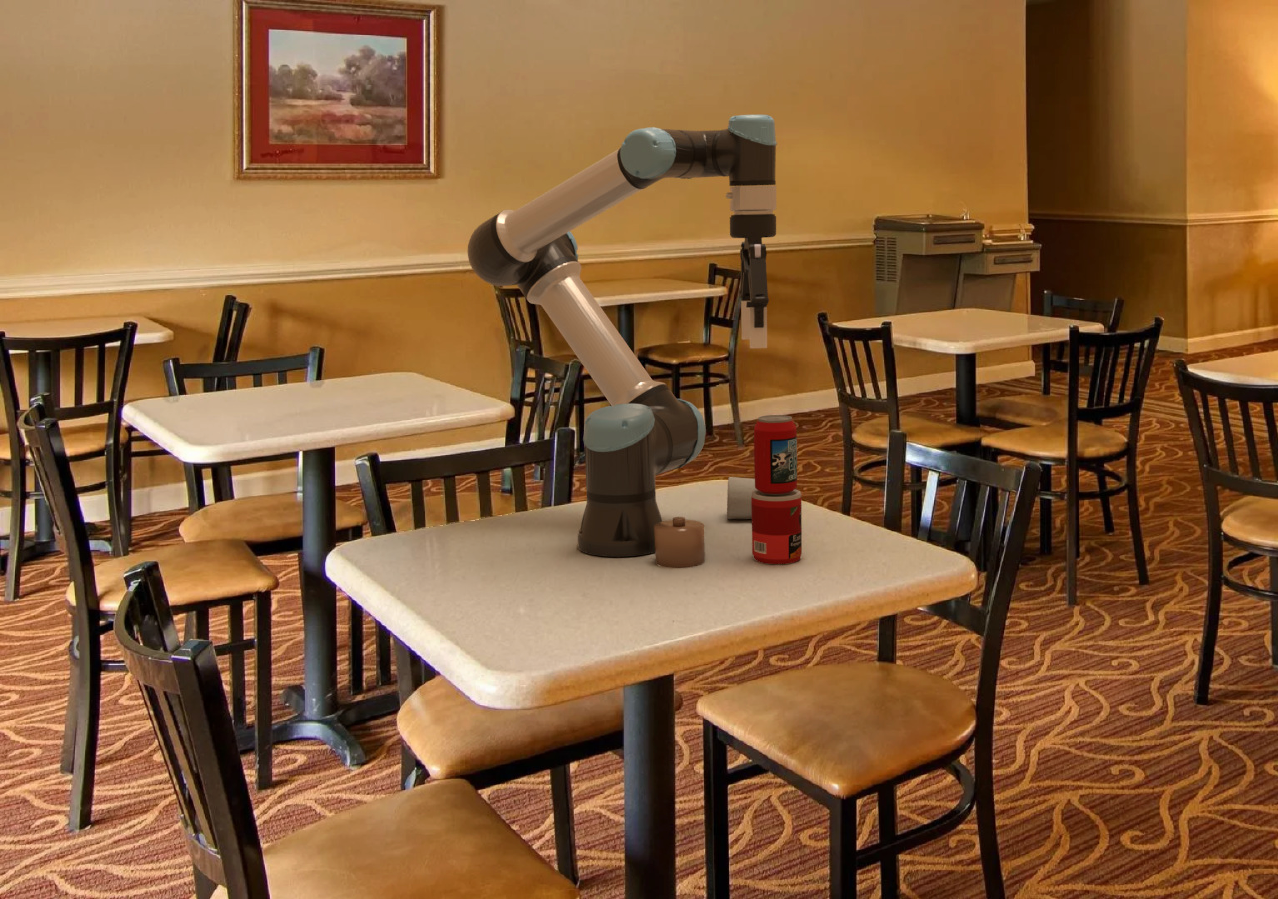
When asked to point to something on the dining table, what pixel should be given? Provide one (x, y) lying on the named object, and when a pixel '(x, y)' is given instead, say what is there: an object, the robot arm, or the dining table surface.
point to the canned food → (776, 527)
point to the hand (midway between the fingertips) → (753, 343)
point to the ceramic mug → (739, 498)
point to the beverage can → (775, 455)
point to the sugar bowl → (679, 543)
